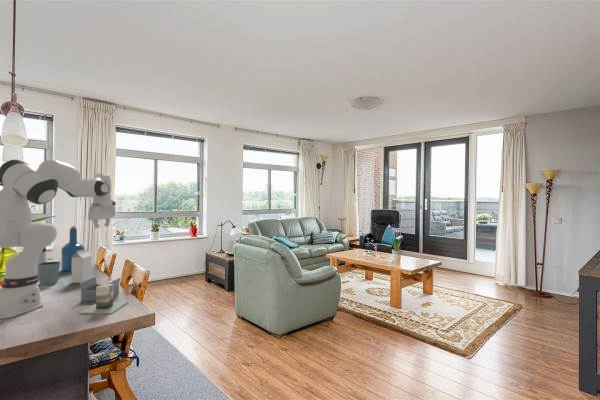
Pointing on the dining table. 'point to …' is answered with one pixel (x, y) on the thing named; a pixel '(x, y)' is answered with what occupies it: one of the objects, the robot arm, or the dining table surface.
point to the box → (104, 296)
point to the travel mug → (41, 259)
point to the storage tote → (90, 288)
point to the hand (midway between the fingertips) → (102, 227)
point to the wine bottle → (70, 250)
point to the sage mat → (110, 310)
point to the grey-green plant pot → (48, 273)
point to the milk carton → (81, 266)
